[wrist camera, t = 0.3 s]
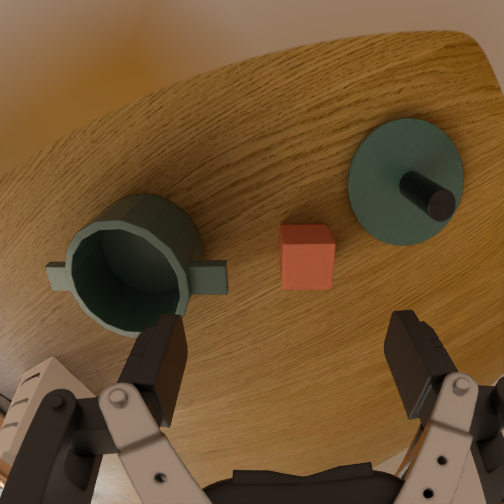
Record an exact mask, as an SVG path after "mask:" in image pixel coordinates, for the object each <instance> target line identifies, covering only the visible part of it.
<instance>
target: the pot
mask: <svg viewBox="0 0 504 504" xmlns="http://www.w3.org/2000/svg"><path fill="white" fill-rule="evenodd" d="M202 257H203V247H202V241H201V238H200V235H199V232H198V230H197V228H196V226H195V224H194V223H193V221H192V220H191V218H190V217H189V216H188V215H187V214H186V213H185V212H184V211H183V210H182V209H181V208H180V207H178V206H177V205H176V204H174V203H173V202H171V201H169V200H167V199H165V198H162V197H159V196H156V195H151V194H135V195H130V196H127V197H124V198H122V199H120V200H118V201H117V202H115V203H114V204H112V205H110V206H109V207H107V208H106V209H105V210H104V211H102V212H101V213H100V214H99V215H97V216H96V217H95V218H94V219H92V220H91V221H90V222H89V223H87V224H86V225H85V226H84V227H83V228H81V229H80V230H79V231H78V232H77V233H76V234H75V236H74V238H73V240H72V241H71V243H70V245H69V247H68V248H67V250H66V261H65V262H49V263H48V264H47V265H46V266H45V269H46V272H47V275H48V278H49V281H50V284H51V287H52V290H57V291H71V293H72V295H73V297H74V298H75V300H76V301H77V303H78V304H79V305H80V307H81V308H82V309H83V311H84V312H85V313H86V314H87V315H88V316H89V317H91V318H92V319H93V320H94V321H96V322H97V323H98V324H100V325H101V326H102V327H103V328H105V329H107V330H110V331H112V332H115V333H117V334H120V335H122V336H125V337H133V338H137V337H138V335H139V334H140V333H141V332H142V331H143V330H144V329H146V328H147V327H155V325H156V323H157V321H158V318H159V316H160V315H161V314H177V315H181V317H182V319H183V318H184V315H185V312H186V309H187V306H188V303H189V300H190V297H191V294H195V295H227V294H228V289H229V285H228V272H227V261H226V260H204V261H203V258H202Z"/></svg>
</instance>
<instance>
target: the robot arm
mask: <svg viewBox="0 0 504 504" xmlns="http://www.w3.org/2000/svg"><path fill="white" fill-rule="evenodd" d="M187 354H188V349H187V342H186V337H185V332H184V326H183V321H182V317H181V315H177V314H161V315H160V316H159V318H158V321H157V323H156V325H155V327H147V328H146V329H144V330H143V331H142V332H141V333H140V334H139V335H138V337H137V339H136V342H135V344H134V346H133V348H132V350H131V354H130V355H129V357H128V359H127V361H126V364H125V366H124V368H123V370H122V373H121V375H120V377H119V379H118V382H117V383H115V384H112V385H110V386H108V387H106V388H105V389H104V390H103V391H102V392H101V394H100V396H98V397H92V398H82V399H76V397H75V395H74V394H73V393H72V392H71V391H69V390H67V389H55V390H53V391H51V392H49V393H48V394H46V395H45V396H44V398H43V399H42V401H41V403H40V405H39V407H38V409H37V411H36V413H35V415H34V417H33V419H32V422H31V424H30V426H29V428H28V430H27V433H26V435H25V437H24V439H23V442H22V444H21V446H20V448H19V451H18V453H17V456H16V458H15V460H14V463H13V465H12V468H11V470H10V473H9V475H8V478H7V481H6V483H5V486H4V489H3V491H2V494H1V497H0V504H91V500H92V496H93V492H94V488H95V484H96V480H97V476H98V472H99V468H100V465H101V461H102V457H103V454H113V453H118V456H119V458H120V461H121V463H122V465H123V467H124V469H125V471H126V473H127V475H128V477H129V479H130V481H131V483H132V485H133V487H134V489H135V490H136V492H137V494H138V496H139V498H140V500H141V501H142V503H143V504H451V502H452V500H453V497H454V495H455V492H456V489H457V487H458V484H459V481H460V478H461V475H462V473H463V470H464V466H465V463H466V460H467V457H468V453H469V450H471V453H472V456H473V459H474V462H475V465H476V468H477V471H478V474H479V478H480V482H481V485H482V489H483V492H484V496H485V499H486V503H487V504H504V437H503V435H502V432H501V431H502V430H503V429H504V377H502V378H500V379H499V381H498V382H497V384H496V386H480V385H477V383H476V381H475V380H474V379H473V378H472V377H471V376H469V375H468V374H465V373H462V372H458V370H457V369H456V367H455V365H454V363H453V362H452V360H451V358H450V356H449V355H448V353H447V351H446V350H445V348H444V347H443V344H442V343H441V341H440V340H439V338H438V336H437V334H436V333H435V331H434V330H433V328H431V327H430V326H429V325H428V324H426V323H425V322H424V321H423V322H420V321H419V319H418V318H417V316H416V314H415V313H414V311H413V310H402V311H394V312H393V313H392V315H391V319H390V323H389V327H388V331H387V334H386V338H385V342H384V354H385V357H386V360H387V362H388V365H389V368H390V370H391V373H392V375H393V378H394V381H395V383H396V386H397V389H398V391H399V394H400V397H401V399H402V402H403V405H404V408H405V410H406V413H407V416H408V419H409V420H411V419H416V418H420V421H421V424H420V425H419V427H418V429H417V432H416V434H415V436H414V438H413V440H412V443H411V445H410V447H409V449H408V451H407V453H406V455H405V457H404V460H403V462H402V463H401V465H400V467H399V469H398V470H397V472H396V474H395V475H392V474H389V473H386V472H382V471H375V470H372V465H371V462H367V463H360V464H353V465H345V466H338V467H335V468H332V469H329V470H326V471H323V472H319V473H316V474H313V475H309V476H304V477H302V476H295V475H290V474H284V473H279V472H273V471H268V470H233V478H230V479H225V480H221V481H218V482H215V483H213V484H210V485H208V486H207V487H205V488H203V489H201V487H200V486H199V484H198V483H197V482H196V480H195V479H194V477H193V476H192V475H191V473H190V472H189V470H188V469H187V467H186V466H185V464H184V463H183V461H182V460H181V458H180V457H179V455H178V454H177V452H176V451H175V449H174V448H173V446H172V445H171V443H170V441H169V440H168V438H167V437H166V435H165V434H164V433H162V432H161V430H160V427H169V428H170V425H171V421H172V417H173V413H174V409H175V405H176V401H177V397H178V393H179V389H180V385H181V381H182V377H183V373H184V370H185V366H186V362H187Z"/></svg>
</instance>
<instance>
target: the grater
mask: <svg viewBox="0 0 504 504" xmlns="http://www.w3.org/2000/svg"><path fill="white" fill-rule="evenodd" d="M37 373H40V375H39V377H37V376H36V377H34V378H32V379H31V378H30V377H31V376H33V375H35V374H37ZM55 389H67V390H69V391H71V392H72V393H73V394H74V395H75V397H76V399H82V398H92V397H97V396H95V395H94V394H93V393H92V392H91V391H90V390H89V389H88V388H86V387H85V386H84V385H83V384H82V383H81V382H80V381H79V380H78V379H77V378H76V377H74V376H73V375H72V374H71V373H70V372H69V371H68V370H67V369H66V368H65V367H64V366H63V365H62V364H61V363H60V362H59V361H58V360H57V359H56V358H55V357H54V356H52V357H50V358H48V359H47V360H45V361H43V362H41V363H40V364H38V365H36V366H34V367H33V368H31V369H29V370H27V371H26V372H25V373H24V375H23V377H22V379H21V381H20V384H19V386H18V388H17V390H16V393H15V395H14V397H13V400H12V402H11V404H10V407H9V409H8V412H7V414H6V417H5V419H4V422H3V425H2V427H1V430H0V459H1V458H2V459H3V460H4V461H6V462H7V463H8V464H9V465H11V466H12V465H13V463H14V460H15V458H16V457H15V456H17V453H18V451H19V448H20V446H21V444H22V442H23V439H24V437H25V435H26V433H27V430H28V428H29V426H30V424H31V422H32V419H33V417H34V415H35V413H36V411H37V409H38V407H39V405H40V403H41V401H42V399H43V398H44V396H45V395H46V394H48V393H49V392H51V391H53V390H55ZM12 425H16V426H17V427H16V426H12ZM0 486H1V487H3V488H4V486H5V485H3V484H2V483H1V482H0Z"/></svg>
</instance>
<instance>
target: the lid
mask: <svg viewBox="0 0 504 504" xmlns="http://www.w3.org/2000/svg"><path fill="white" fill-rule="evenodd" d="M463 181H464V179H463V167H462V162H461V159H460V156H459V153H458V151H457V149H456V147H455V145H454V143H453V142H452V141H451V139H450V138H449V137H448V136H447V135H446V134H445V133H444V132H443V131H442V130H441V129H440V128H438V127H437V126H435V125H433V124H432V123H429V122H427V121H424V120H420V119H416V118H398V119H394V120H390V121H388V122H385V123H383V124H381V125H379V126H378V127H376V128H375V129H373V130H372V131H371V132H370V133H369V134H368V135H367V136H366V137H365V138H364V139H363V140H362V142H361V143H360V144H359V146H358V147H357V149H356V151H355V153H354V155H353V158H352V160H351V163H350V167H349V171H348V179H347V190H348V198H349V202H350V205H351V208H352V210H353V213H354V215H355V216H356V218H357V220H358V221H359V223H360V224H361V225H362V227H363V228H364V229H365V230H366V231H367V232H368V233H369V234H370V235H372V236H373V237H375V238H376V239H378V240H380V241H382V242H385V243H388V244H392V245H399V246H406V245H413V244H418V243H420V242H423V241H425V240H427V239H429V238H431V237H433V236H434V235H436V234H437V233H438V232H439V231H441V230H442V229H443V228H444V227H445V226H446V225H447V223H448V222H449V221H450V219H451V218H452V216H453V215H454V213H455V211H456V209H457V207H458V205H459V202H460V199H461V195H462V190H463Z"/></svg>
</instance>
